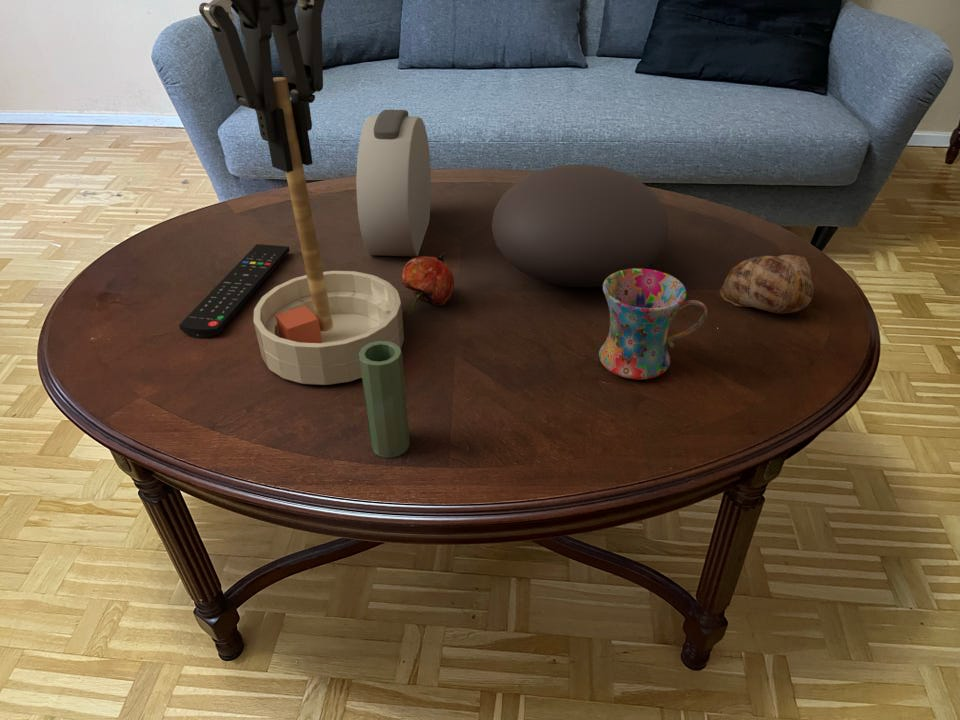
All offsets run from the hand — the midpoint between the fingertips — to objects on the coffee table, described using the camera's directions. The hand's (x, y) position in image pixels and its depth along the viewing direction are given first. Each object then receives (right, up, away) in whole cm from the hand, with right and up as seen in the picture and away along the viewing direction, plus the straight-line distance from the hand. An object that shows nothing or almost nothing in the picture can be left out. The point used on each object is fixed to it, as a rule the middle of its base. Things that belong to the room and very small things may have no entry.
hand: (292, 164), depth 79 cm
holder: (+11, -31, -3) cm, 33 cm away
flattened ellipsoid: (+35, -8, +27) cm, 45 cm away
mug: (+41, -22, +8) cm, 47 cm away
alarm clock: (+8, -2, +37) cm, 38 cm away
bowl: (+2, -20, +12) cm, 23 cm away
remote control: (-14, -12, +23) cm, 30 cm away
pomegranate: (+14, -14, +20) cm, 28 cm away
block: (-2, -19, +11) cm, 23 cm away
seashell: (+60, -14, +19) cm, 64 cm away
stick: (+1, -17, +12) cm, 21 cm away
